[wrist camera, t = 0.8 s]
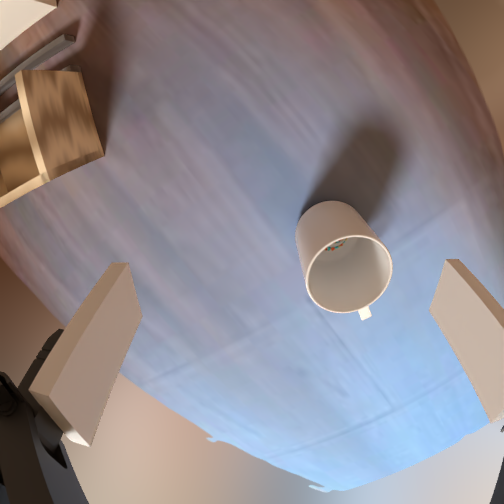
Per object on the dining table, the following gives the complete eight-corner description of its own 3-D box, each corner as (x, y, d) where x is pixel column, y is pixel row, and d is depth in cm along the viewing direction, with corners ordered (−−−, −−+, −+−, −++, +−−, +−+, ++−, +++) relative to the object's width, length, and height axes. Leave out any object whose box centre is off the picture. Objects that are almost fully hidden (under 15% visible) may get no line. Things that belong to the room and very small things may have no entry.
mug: (281, 216, 37) (290, 260, 28) (346, 185, 35) (378, 218, 26) (319, 288, 42) (334, 343, 32) (376, 262, 40) (406, 310, 30)
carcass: (-16, 103, 29) (-70, 115, 18) (74, 36, 26) (15, 24, 15) (11, 201, 36) (-39, 232, 26) (104, 155, 34) (50, 180, 23)
